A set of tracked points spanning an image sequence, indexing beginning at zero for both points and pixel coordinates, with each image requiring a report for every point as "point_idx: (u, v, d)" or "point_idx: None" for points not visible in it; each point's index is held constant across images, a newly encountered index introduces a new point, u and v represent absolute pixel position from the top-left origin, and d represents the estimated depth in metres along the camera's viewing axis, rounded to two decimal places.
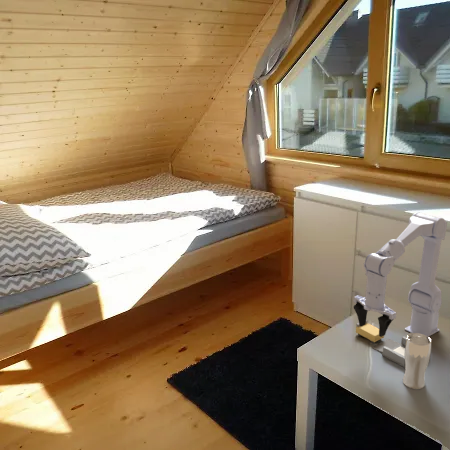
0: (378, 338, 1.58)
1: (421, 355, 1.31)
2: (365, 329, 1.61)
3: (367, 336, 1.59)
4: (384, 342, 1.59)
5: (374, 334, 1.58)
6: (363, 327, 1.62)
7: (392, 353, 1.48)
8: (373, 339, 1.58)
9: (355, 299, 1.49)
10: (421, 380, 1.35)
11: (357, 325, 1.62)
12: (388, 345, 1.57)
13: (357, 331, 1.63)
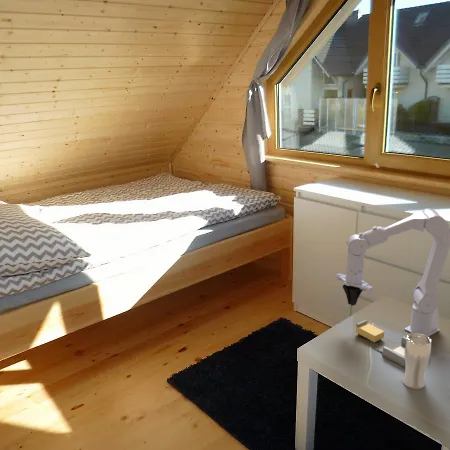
0: (378, 338, 1.58)
1: (421, 355, 1.31)
2: (365, 329, 1.61)
3: (367, 336, 1.59)
4: (384, 342, 1.59)
5: (374, 334, 1.58)
6: (363, 327, 1.62)
7: (392, 353, 1.48)
8: (373, 339, 1.58)
9: (337, 276, 1.68)
10: (421, 380, 1.35)
11: (357, 325, 1.62)
12: (388, 345, 1.57)
13: (357, 331, 1.63)
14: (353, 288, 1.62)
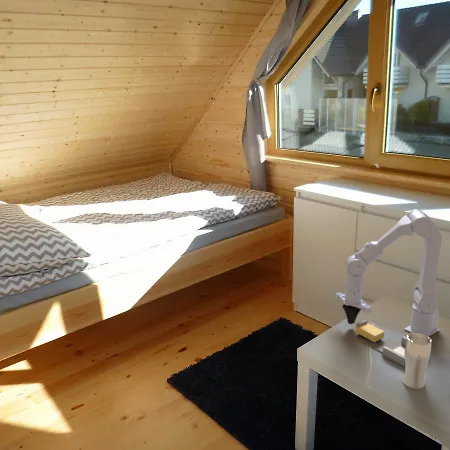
0: (378, 338, 1.58)
1: (421, 355, 1.31)
2: (365, 329, 1.61)
3: (367, 336, 1.59)
4: (384, 342, 1.59)
5: (374, 334, 1.58)
6: (363, 327, 1.62)
7: (392, 353, 1.48)
8: (373, 339, 1.58)
9: (336, 295, 1.70)
10: (421, 380, 1.35)
11: (357, 325, 1.62)
12: (388, 345, 1.57)
13: (357, 331, 1.63)
14: (352, 308, 1.64)
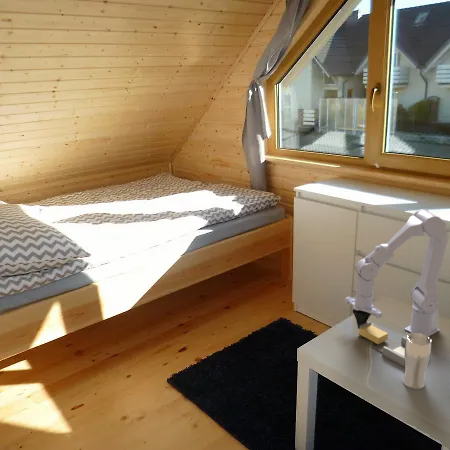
0: (382, 340, 1.57)
1: (421, 355, 1.31)
2: (368, 331, 1.60)
3: (370, 337, 1.58)
4: (384, 342, 1.59)
5: (377, 336, 1.57)
6: (366, 329, 1.61)
7: (392, 353, 1.48)
8: (377, 341, 1.56)
9: (346, 300, 1.67)
10: (421, 380, 1.35)
11: (360, 327, 1.61)
12: (388, 345, 1.57)
13: (360, 333, 1.62)
14: (362, 313, 1.60)
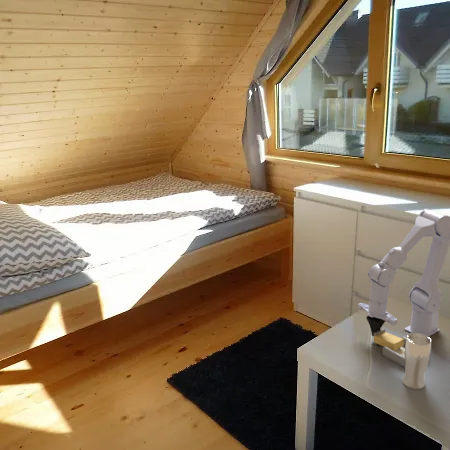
0: (397, 346, 1.52)
1: (421, 355, 1.31)
2: (383, 338, 1.55)
3: (386, 344, 1.53)
4: None
5: (392, 342, 1.52)
6: (381, 336, 1.56)
7: (392, 353, 1.48)
8: (392, 347, 1.51)
9: (359, 306, 1.62)
10: (421, 380, 1.35)
11: (374, 334, 1.57)
12: None
13: (375, 341, 1.57)
14: (377, 319, 1.56)
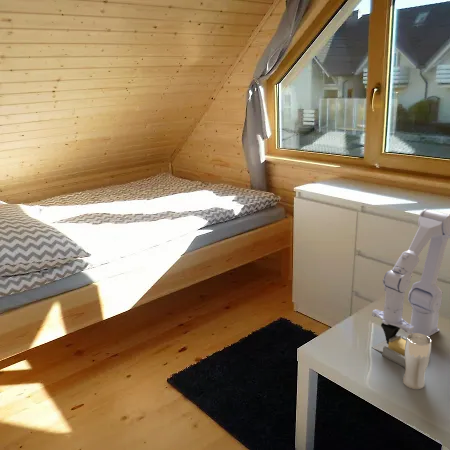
0: None
1: (421, 355, 1.31)
2: (399, 345, 1.50)
3: (401, 352, 1.49)
4: (384, 342, 1.59)
5: None
6: (396, 342, 1.51)
7: (392, 353, 1.48)
8: None
9: (373, 313, 1.57)
10: (421, 380, 1.35)
11: (390, 340, 1.52)
12: None
13: (390, 347, 1.52)
14: (392, 327, 1.51)
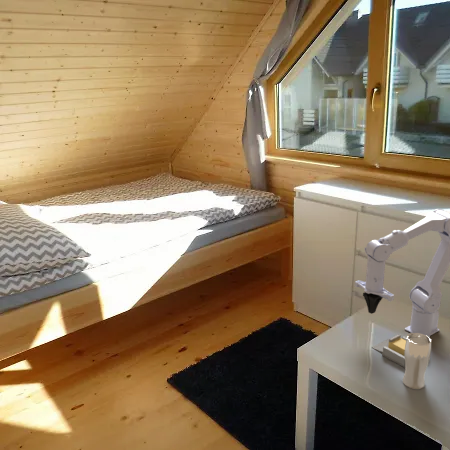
0: None
1: (421, 355, 1.31)
2: (399, 345, 1.50)
3: (401, 352, 1.49)
4: (384, 342, 1.59)
5: None
6: (396, 342, 1.51)
7: (392, 353, 1.48)
8: None
9: (356, 283, 1.61)
10: (421, 380, 1.35)
11: (390, 340, 1.52)
12: None
13: (390, 347, 1.52)
14: (373, 296, 1.55)
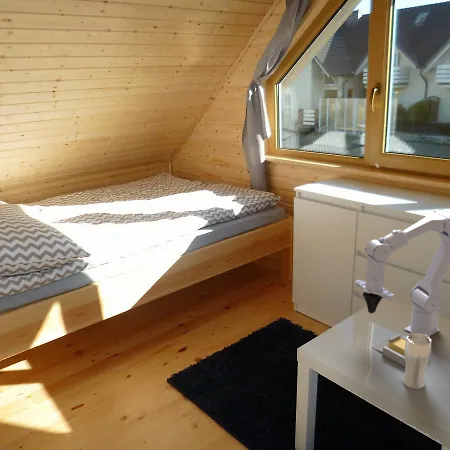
0: None
1: (421, 355, 1.31)
2: (399, 345, 1.50)
3: (401, 352, 1.49)
4: (384, 342, 1.59)
5: None
6: (396, 342, 1.51)
7: (392, 353, 1.48)
8: None
9: (356, 283, 1.61)
10: (421, 380, 1.35)
11: (390, 340, 1.52)
12: None
13: (390, 347, 1.52)
14: (373, 296, 1.55)
